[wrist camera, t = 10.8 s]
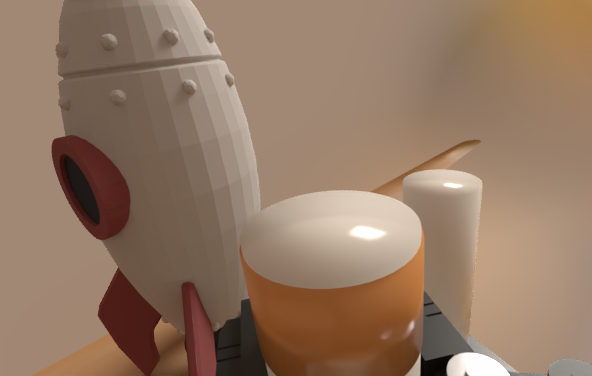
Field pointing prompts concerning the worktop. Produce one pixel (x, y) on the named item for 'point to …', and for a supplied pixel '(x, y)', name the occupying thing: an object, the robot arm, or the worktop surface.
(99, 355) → the worktop surface
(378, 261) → the cylinder
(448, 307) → the cylinder
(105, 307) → the toy
